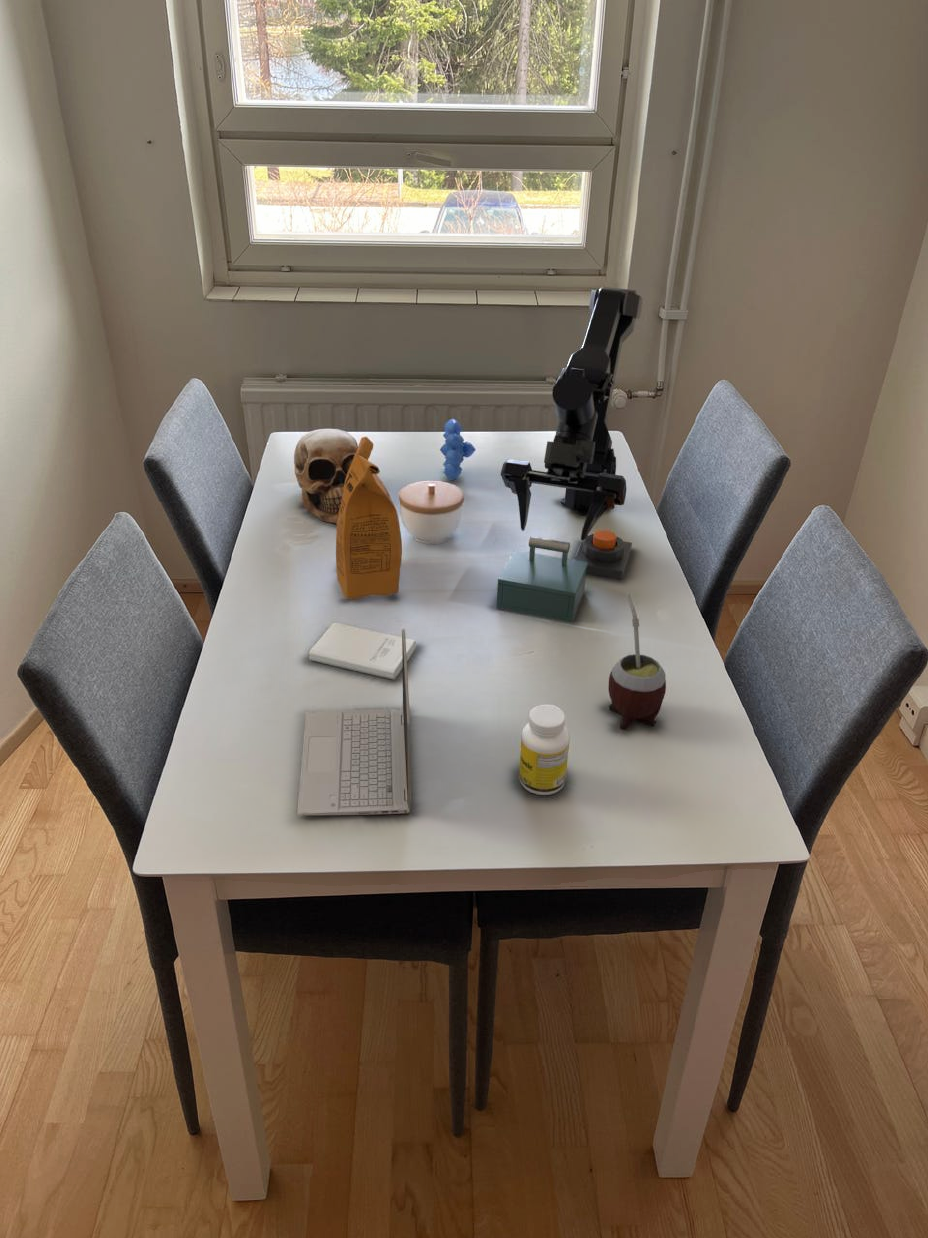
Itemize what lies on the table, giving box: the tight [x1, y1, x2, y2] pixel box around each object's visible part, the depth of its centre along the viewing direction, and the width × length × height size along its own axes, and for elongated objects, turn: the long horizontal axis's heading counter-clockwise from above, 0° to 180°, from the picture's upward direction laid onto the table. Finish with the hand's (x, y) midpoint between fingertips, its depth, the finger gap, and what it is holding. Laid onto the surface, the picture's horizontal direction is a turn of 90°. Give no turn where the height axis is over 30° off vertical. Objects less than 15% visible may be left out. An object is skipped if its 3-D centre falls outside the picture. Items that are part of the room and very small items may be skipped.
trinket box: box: [398, 480, 465, 545], centre depth 157 cm, size 11×11×9 cm
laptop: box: [296, 628, 412, 816], centre depth 108 cm, size 18×12×13 cm
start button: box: [593, 529, 617, 549], centre depth 151 cm, size 4×4×2 cm
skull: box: [293, 428, 359, 525], centre depth 167 cm, size 16×17×13 cm
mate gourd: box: [608, 593, 667, 731], centre depth 116 cm, size 8×8×15 cm
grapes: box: [439, 418, 477, 481], centre depth 175 cm, size 12×7×12 cm, turn 3°
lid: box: [497, 536, 588, 597], centre depth 139 cm, size 9×12×4 cm
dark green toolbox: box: [496, 571, 587, 623], centre depth 142 cm, size 9×12×4 cm
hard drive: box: [308, 622, 417, 680], centre depth 129 cm, size 2×8×12 cm
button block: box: [573, 533, 633, 581], centre depth 152 cm, size 10×8×4 cm
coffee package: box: [335, 436, 403, 600], centre depth 140 cm, size 10×12×22 cm
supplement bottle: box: [518, 704, 570, 796], centre depth 107 cm, size 5×5×10 cm
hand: (552, 534), depth 142 cm, fingers open, 9 cm apart
